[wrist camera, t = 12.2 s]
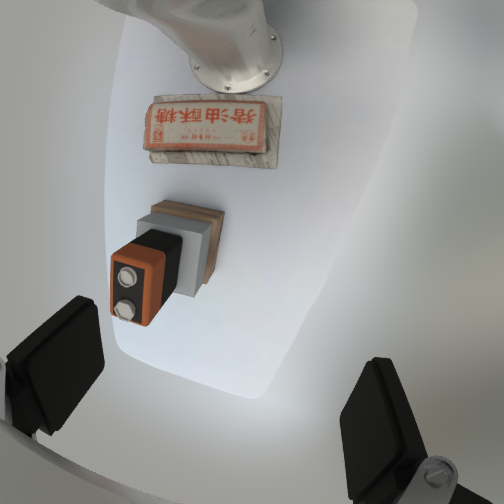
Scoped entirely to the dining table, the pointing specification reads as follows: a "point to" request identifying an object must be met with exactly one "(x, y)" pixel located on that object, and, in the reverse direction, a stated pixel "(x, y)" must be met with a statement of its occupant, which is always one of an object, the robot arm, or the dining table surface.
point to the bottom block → (200, 215)
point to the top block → (183, 247)
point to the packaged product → (214, 130)
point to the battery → (144, 276)
